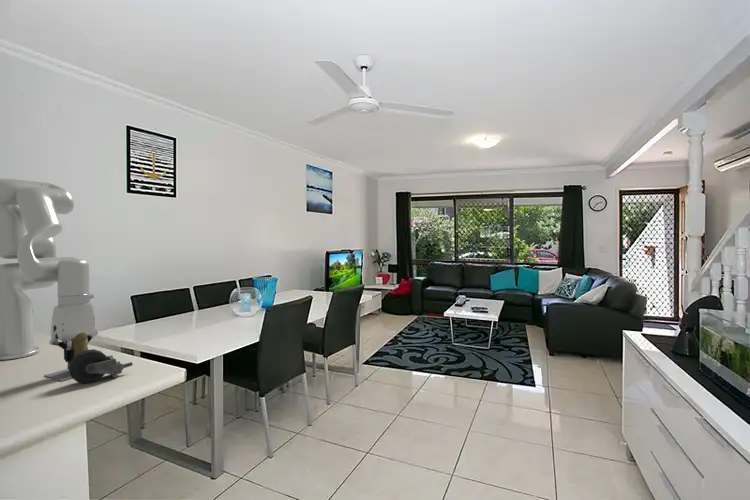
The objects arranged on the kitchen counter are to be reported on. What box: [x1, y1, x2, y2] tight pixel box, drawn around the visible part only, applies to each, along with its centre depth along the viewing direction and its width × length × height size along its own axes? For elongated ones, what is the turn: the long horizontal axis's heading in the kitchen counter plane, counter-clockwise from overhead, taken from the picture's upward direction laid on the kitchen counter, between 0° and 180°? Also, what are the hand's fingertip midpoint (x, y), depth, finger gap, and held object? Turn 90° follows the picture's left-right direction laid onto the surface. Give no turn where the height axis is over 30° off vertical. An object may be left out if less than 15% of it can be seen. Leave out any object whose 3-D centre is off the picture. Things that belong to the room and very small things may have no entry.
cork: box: [66, 333, 89, 369], centre depth 118 cm, size 6×6×11 cm
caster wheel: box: [69, 348, 133, 384], centre depth 113 cm, size 6×10×15 cm
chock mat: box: [43, 368, 73, 382], centre depth 118 cm, size 9×11×1 cm
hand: (75, 360), depth 117 cm, fingers closed on cork, 2 cm apart
